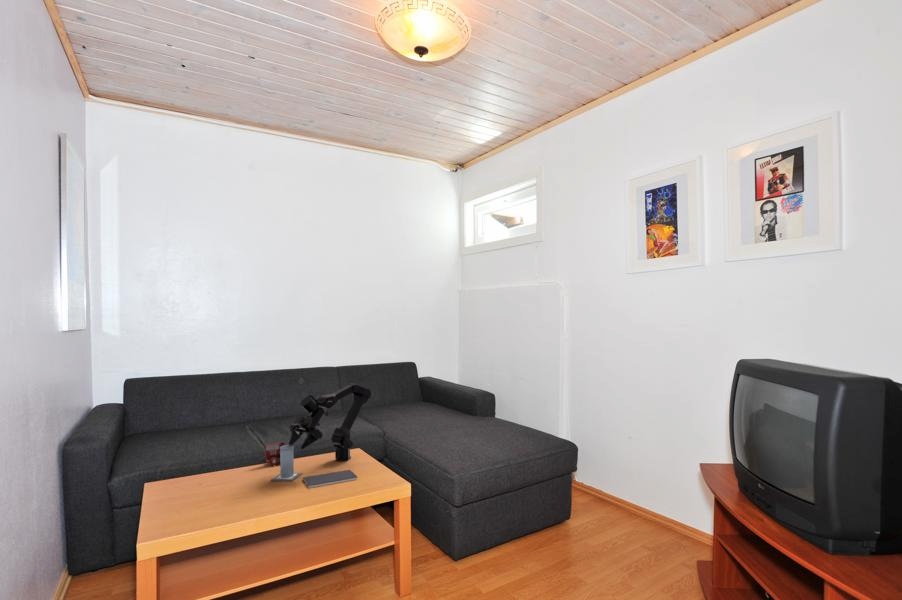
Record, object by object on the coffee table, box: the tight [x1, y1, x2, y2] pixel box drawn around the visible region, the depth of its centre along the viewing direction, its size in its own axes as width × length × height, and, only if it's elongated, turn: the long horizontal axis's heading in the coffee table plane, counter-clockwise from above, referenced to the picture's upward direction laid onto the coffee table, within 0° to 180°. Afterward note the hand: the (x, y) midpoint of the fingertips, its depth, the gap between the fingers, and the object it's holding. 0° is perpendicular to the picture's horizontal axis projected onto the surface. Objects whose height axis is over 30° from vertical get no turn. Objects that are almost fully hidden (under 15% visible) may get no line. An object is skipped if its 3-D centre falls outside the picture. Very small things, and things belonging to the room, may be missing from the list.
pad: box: [270, 472, 303, 482], centre depth 208 cm, size 10×10×1 cm
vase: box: [279, 444, 295, 478], centre depth 209 cm, size 6×6×13 cm
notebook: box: [302, 469, 358, 489], centre depth 204 cm, size 13×2×21 cm
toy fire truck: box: [264, 441, 287, 467], centre depth 231 cm, size 7×12×10 cm, turn 125°
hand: (295, 447), depth 213 cm, fingers open, 9 cm apart
